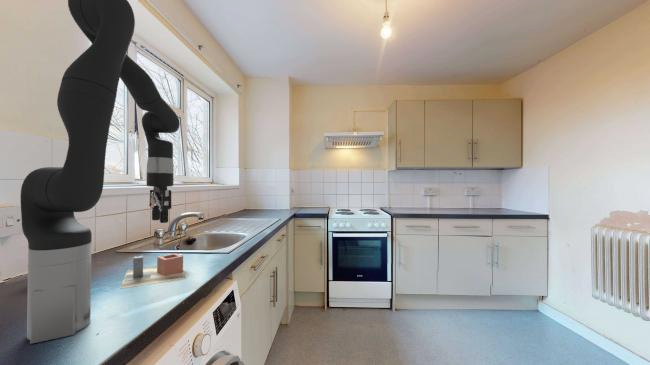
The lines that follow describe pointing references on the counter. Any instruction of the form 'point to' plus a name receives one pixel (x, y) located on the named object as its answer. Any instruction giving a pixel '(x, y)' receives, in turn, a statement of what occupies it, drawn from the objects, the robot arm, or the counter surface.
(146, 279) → the beige flat rectangular board
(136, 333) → the counter surface
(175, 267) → the brown boxy piece
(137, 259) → the d shaft post
